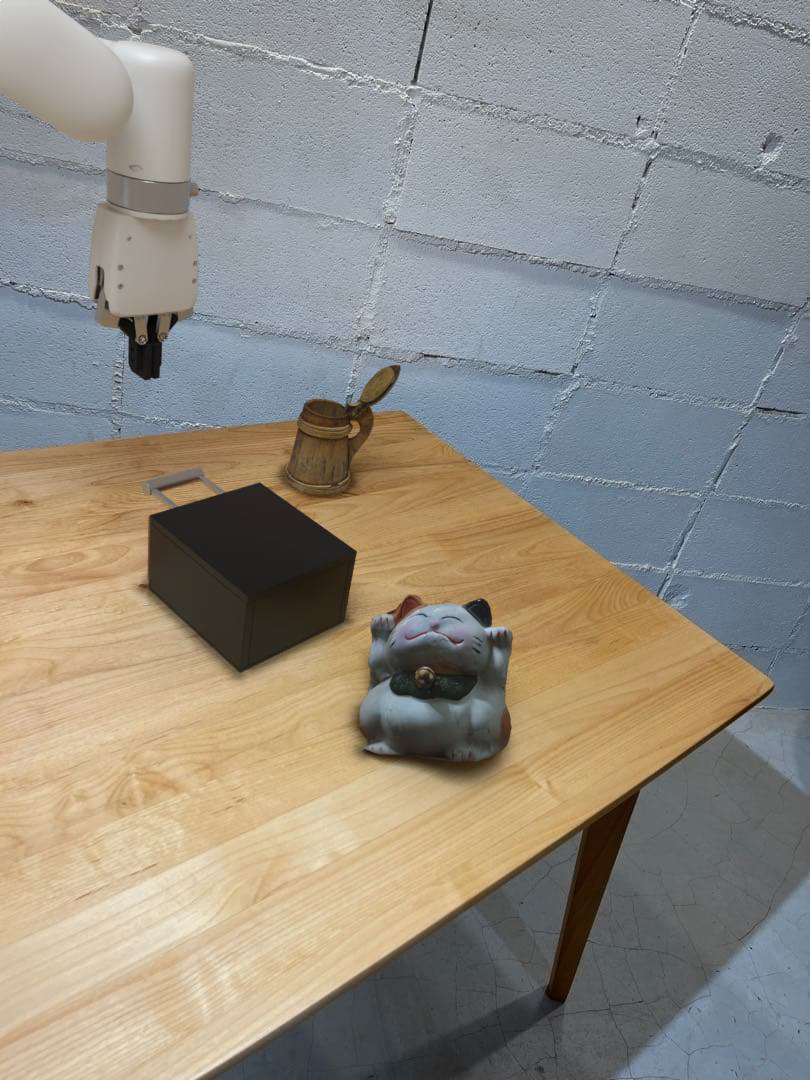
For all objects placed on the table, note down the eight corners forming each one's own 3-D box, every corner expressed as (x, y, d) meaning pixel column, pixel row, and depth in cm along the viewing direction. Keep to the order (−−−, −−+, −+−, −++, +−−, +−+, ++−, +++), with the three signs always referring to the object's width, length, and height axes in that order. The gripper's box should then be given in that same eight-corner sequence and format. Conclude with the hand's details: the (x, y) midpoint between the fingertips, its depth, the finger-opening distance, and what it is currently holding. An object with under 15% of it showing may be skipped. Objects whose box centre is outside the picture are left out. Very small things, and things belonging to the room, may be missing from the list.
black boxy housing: (148, 592, 86) (149, 514, 81) (252, 554, 96) (259, 482, 91) (239, 677, 78) (247, 596, 73) (343, 625, 88) (357, 551, 83)
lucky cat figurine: (328, 746, 73) (340, 592, 72) (384, 716, 84) (395, 582, 83) (488, 783, 67) (504, 616, 66) (526, 745, 78) (539, 602, 77)
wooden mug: (385, 501, 112) (409, 379, 102) (286, 497, 108) (302, 369, 99) (373, 469, 119) (394, 352, 110) (280, 464, 115) (294, 342, 106)
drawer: (117, 551, 90) (117, 485, 85) (213, 520, 98) (217, 459, 94) (230, 653, 79) (236, 584, 75) (325, 609, 88) (336, 544, 84)
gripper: (192, 185, 84) (184, 353, 94) (52, 182, 74) (59, 371, 84) (236, 204, 81) (223, 378, 90) (95, 204, 70) (97, 400, 80)
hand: (144, 374), depth 87 cm, fingers closed
